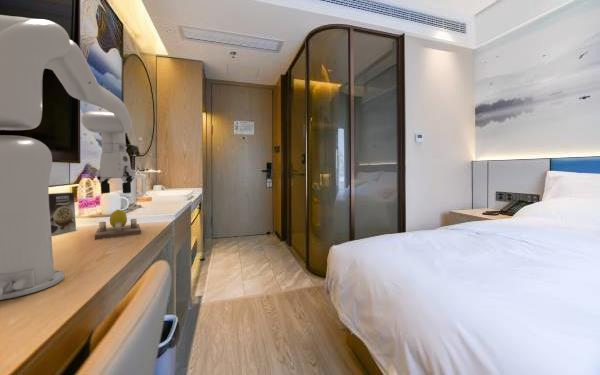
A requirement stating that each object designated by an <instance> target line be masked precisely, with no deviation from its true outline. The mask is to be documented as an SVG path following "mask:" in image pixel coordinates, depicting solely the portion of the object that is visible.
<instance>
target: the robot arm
mask: <svg viewBox="0 0 600 375" xmlns="http://www.w3.org/2000/svg"><path fill="white" fill-rule="evenodd" d="M45 69H48V70H51V71H53V73H54V74H55V77H57V79H58V81H59V82H60V83H61V84H62V86H63V88H64V90H65V91H66V93H67V94H68V95H69V96H70V97H72V98H74V99H77V100H79V101H82V102H84V103H87V104H90V105H93V106H95V107H99V108H100V109H101V108H102V109H104V111H102V110H89V111H88V110H87V111H85V112H84V113H83V114H82V116H81V123H82V125H83V127H84V128H85V129H86V130H87V131H89V132H92V133H95V134H96V133H98V134H101V135H100V137H101V155H100V159H99V160H100V162H99V169H98V170H96V171H95V172H94V174H95V176H96V180H98V182H99V184H100V193H101V194H110V192H111V188H110V185H111V183H110V182H109V181H110V180H111V179H121V180H122V193H123V194H131V193H132V187H131V186H132V184H131V183H133V180H134V179H135V175H136V173H137V171H136V170H135V169H132V165H131V159H130V156H129V153H128V152H127V149H128V146H126V145H127V144H126V134H127V133H130V132H131V131H132V128H133V121H132V118H131V115H130V113H129V110H128V108H127V106H126V104H125V103H124V102H123V101H122V100H121V99H120V98H119V97H118V96H116V95H115V94H114V93H113V92H111V91H110V90H108V89H107V88H105V87H103V86H102V85H100V84H99V82H98V80H97V78H96V76H95V75H94V74H95V73H94V72H93V71H92V69H91V67H90V65H89V63H88V61H87V59H86V58H85V56H84V54H83V52H82V50H81V48H80V47H79V45H78V44H77V43H76V42H74V40H72V39H70V36H69V34H68V32H67V31H66V29H65V28H64V27H63V26H61V25H60V24H58V23H57V22H54V21H51V20H48V19H43V18H31V17H24V16H13V15H12V16H11V15H4V14H0V131H3V130H4V131H26V130H27V131H28V130H34V129H36V128H37V127H39V126H40V124H41V123H42V122H41V121H42V119H43V118H42V117H43V77H44V76H43V75H44V71H45ZM52 167H53V155H52V151H51V150H50V148H49V147H48V146H47V145H46V144H45V143H43V142H42V141H40V140H38V139H35V138H32V137H28V136H23V135H22V136H21V135H8V134H7V135H5V134H3V135H1V134H0V301H1V300H8V299H13V298H18V297H22V296H26V295H30V294H33V293H37V292H39V291H42V290H45V289H48V288H51V287H52V286H54V285H57V284H58V283H60V282H61V281H63V279H64V278H65V273H64V271H63V270H58V269H55V265H54V253H53V252H54V251H53V242H52V241H53V240H52V236H51V224H50V211H49V195H48V194H49V190H50V189H49V186H50V178H51V177H50V176H51V171H52Z"/></svg>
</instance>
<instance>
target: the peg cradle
mask: <svg viewBox="0 0 600 375" xmlns="http://www.w3.org/2000/svg"><path fill="white" fill-rule="evenodd" d="M98 226H99V228H97V230H96V233H95V234H94V240H95V241H96V240H97V239H98V240H104V239H103V238H106V239H111V237H113V238H120V237H121V238H122V237H127V236H134V235H136V236H137V235H142V230H141V227H140V224H139V223H137V218H131V219H130V224H129V225H127V224H126V225H125V226H123V227H122V223H121V222H117V223H115V228H114V227H112V226H111V227H107V222H106V221H100V222H98Z"/></svg>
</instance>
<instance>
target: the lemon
mask: <svg viewBox="0 0 600 375" xmlns="http://www.w3.org/2000/svg"><path fill="white" fill-rule="evenodd" d="M117 222H121V223H122V227H123V226H126V225H127V223H128V217H127V214H126V213H125V212H124V211H123V210H121V209H115V211H113V212H112V213H110V216H109V224H110V225H111V227H114V228H115V223H117Z"/></svg>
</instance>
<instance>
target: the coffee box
mask: <svg viewBox="0 0 600 375" xmlns="http://www.w3.org/2000/svg"><path fill="white" fill-rule="evenodd" d="M48 195H49V211H50V224H51V237H52V236H56V235H57V236H58V235H62V234H66V233H70V232H75V231H77V224H76V221H77V220H76V210H75V208H76V206H75V193H74V192H55V193H54V192H53V193H48Z"/></svg>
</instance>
